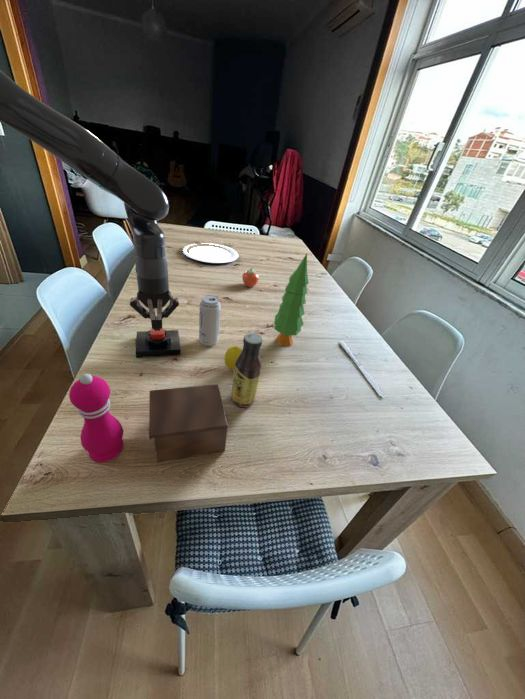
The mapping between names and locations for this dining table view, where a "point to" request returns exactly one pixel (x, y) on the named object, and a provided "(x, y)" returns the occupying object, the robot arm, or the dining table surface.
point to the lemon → (232, 356)
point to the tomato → (250, 278)
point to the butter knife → (362, 369)
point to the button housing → (157, 344)
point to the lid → (185, 411)
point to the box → (190, 444)
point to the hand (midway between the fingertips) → (157, 329)
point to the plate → (211, 253)
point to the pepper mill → (97, 418)
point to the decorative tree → (292, 305)
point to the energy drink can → (209, 320)
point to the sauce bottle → (247, 371)
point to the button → (157, 334)
